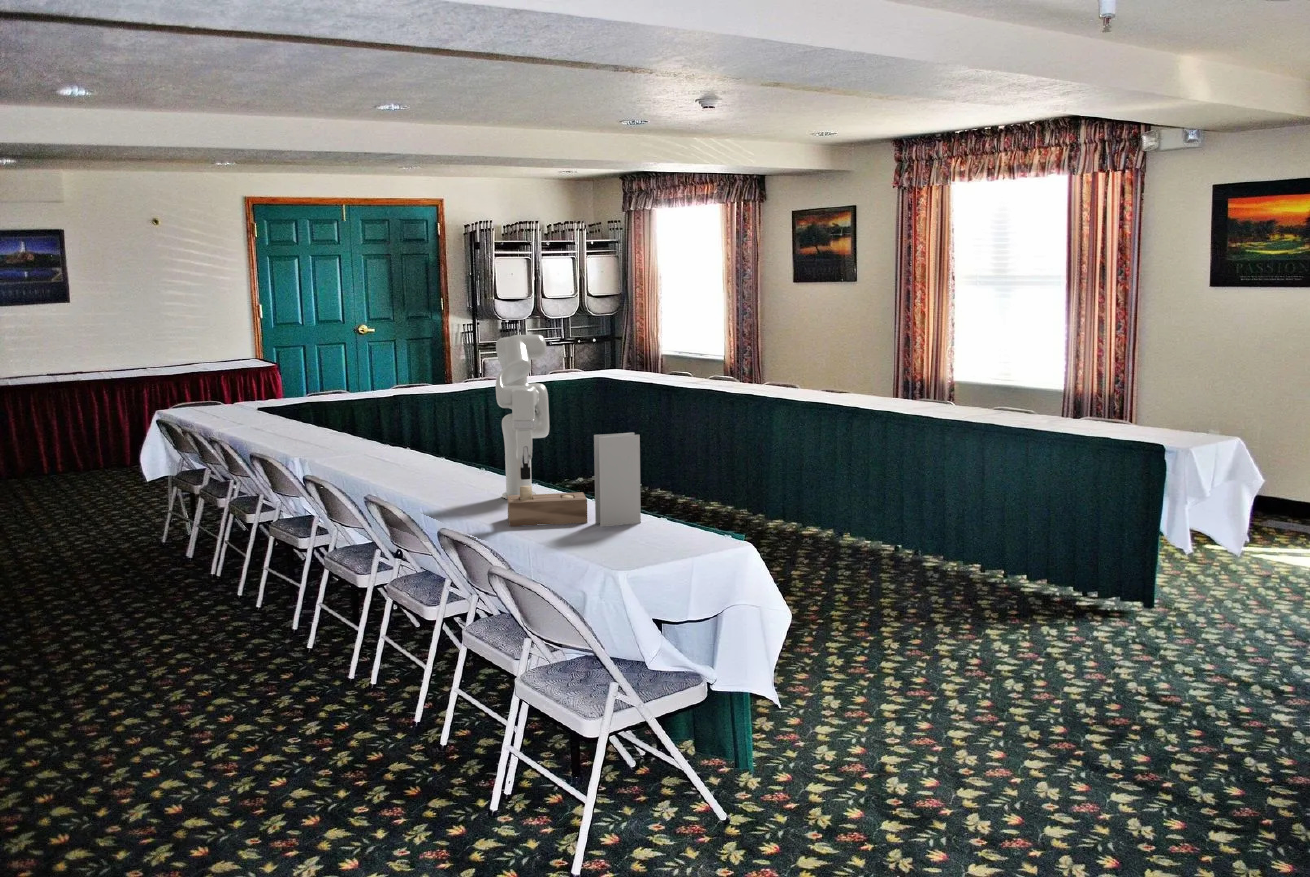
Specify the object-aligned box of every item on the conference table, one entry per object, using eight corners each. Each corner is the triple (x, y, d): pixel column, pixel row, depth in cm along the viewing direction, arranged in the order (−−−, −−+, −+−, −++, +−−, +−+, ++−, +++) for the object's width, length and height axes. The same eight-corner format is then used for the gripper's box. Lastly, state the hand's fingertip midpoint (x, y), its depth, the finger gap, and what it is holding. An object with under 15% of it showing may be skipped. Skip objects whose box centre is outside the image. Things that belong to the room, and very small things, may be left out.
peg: (520, 507, 373) (519, 485, 372) (531, 507, 374) (531, 485, 373) (520, 510, 369) (520, 488, 368) (532, 509, 370) (532, 487, 369)
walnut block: (508, 518, 377) (507, 495, 376) (583, 514, 382) (582, 492, 380) (509, 526, 365) (509, 503, 364) (587, 522, 370) (587, 499, 369)
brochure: (635, 519, 374) (634, 432, 369) (640, 523, 369) (639, 434, 364) (595, 523, 369) (593, 435, 364) (600, 526, 364) (599, 437, 359)
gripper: (511, 422, 374) (513, 475, 376) (514, 428, 359) (515, 483, 361) (533, 422, 375) (535, 475, 377) (537, 427, 360) (538, 482, 363)
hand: (525, 478), depth 369 cm, fingers closed
